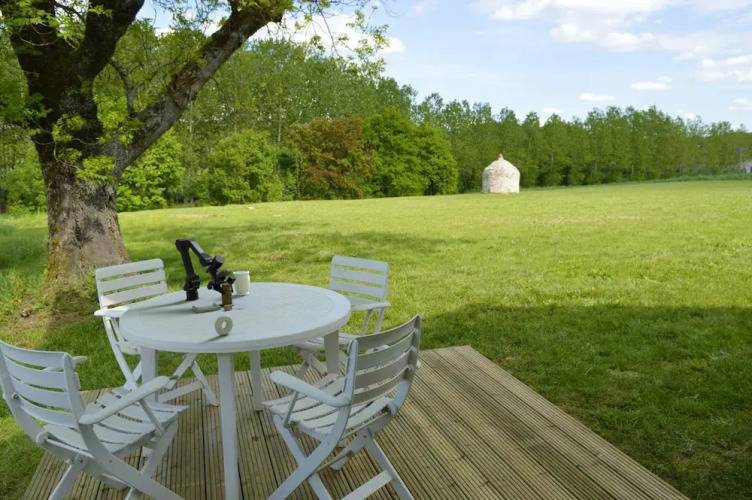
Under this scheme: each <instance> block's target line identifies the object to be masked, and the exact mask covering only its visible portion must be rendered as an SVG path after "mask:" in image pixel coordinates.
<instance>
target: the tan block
mask: <svg viewBox="0 0 752 500" xmlns="http://www.w3.org/2000/svg"><path fill="white" fill-rule="evenodd" d="M223 309H224V311H227V310H228V311H232V310H233V305H224V306H223Z"/></svg>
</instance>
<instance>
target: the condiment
mask: <svg viewBox="0 0 752 500" xmlns="http://www.w3.org/2000/svg"><path fill="white" fill-rule="evenodd" d="M221 287H222V289H223V290H224V292H225V295H223V294H221V293H220V295H221V302H220V303H219V305H221V306H222V307H224V305H232V306H235V305H236V303H235V302H234V303H233V295H232V294H233V293H232V290H231V286H230V284H221Z"/></svg>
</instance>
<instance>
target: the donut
mask: <svg viewBox="0 0 752 500" xmlns="http://www.w3.org/2000/svg"><path fill="white" fill-rule="evenodd" d="M224 323H225V326H224V327H223V324H224ZM233 328H234V321H233V318H232V317H231V316H230V315H228V314H221V315H219V316H218V317H217V318H216V320H215V323H214V330H215V332H216V334H218V335H220V336H226V335H228V334H229V333H231V331H232V330H233Z"/></svg>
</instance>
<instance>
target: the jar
mask: <svg viewBox="0 0 752 500" xmlns="http://www.w3.org/2000/svg"><path fill="white" fill-rule="evenodd" d="M232 273H233V276H235V278H236V280H235V281H234V283H233V285H234V289H235V292H236V294H235V295H236V296H242V295H243V296H248V295H250V292H249V290H250V287H251V286H250V285H251V278H250V277H251V276H250V271H249V270H237V271H234V272H232ZM243 296H242V297H243Z"/></svg>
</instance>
